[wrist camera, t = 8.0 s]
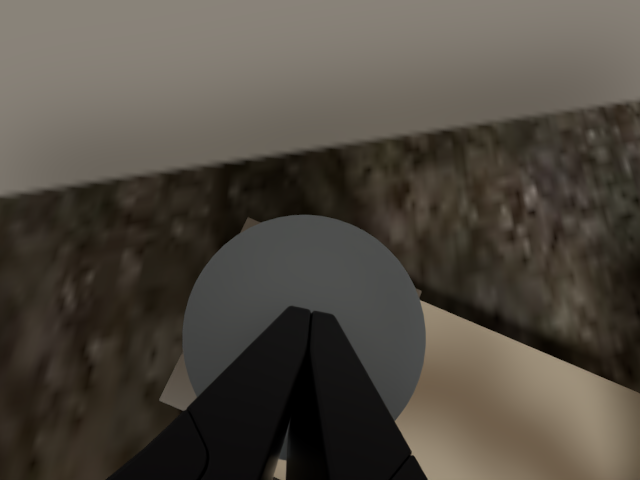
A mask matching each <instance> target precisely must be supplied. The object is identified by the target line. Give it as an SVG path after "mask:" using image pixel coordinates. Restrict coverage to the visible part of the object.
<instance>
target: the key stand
mask: <svg viewBox="0 0 640 480" xmlns="http://www.w3.org/2000/svg"><path fill="white" fill-rule="evenodd" d="M259 223H260V222H258V221H256V220H253V219H251V218H249V217H248V218H247V220H246V222H245V224H244V226H243V228H242V230H241V233H242V232H243V231H245V230H247V229H248V228H250V227H253V226H255V225H257V224H259ZM415 289H416V288H415ZM416 291H417V294H418V297H419V298H420V295H421V292H422V291H421V290H419V289H416ZM420 302H421V306H422V310H423V314H424V321H425V329H426V348H425V356H424V363H423V367H422V371H421V375H420V378H419V381H418V383H417V386H416V388H415V391H414V393H413V395H412V397H411V398H410V400H409V402H408V404H407V405H406V407H405V409H404V410H403V411H402V412H401V414H400V415H399V416H398V418H397V419H396V420H395V423H396V424H397V426H398V428H399V430H400V431H401V433H402V435H403V437H404V438H405V440H406V442H407V444H408V446H409V447H410V449H411V451H412V455H414V456H415V458H416V459H417V461H418V463H419V465H420V466H421V468H422V470H423V472H424V473H425V475H426V477H427V478H428V480H640V393H638V392H635V391H633V390H631V389H628V388H626V387H624V386H621V385H619V384H617V383H614V382H612V381H609V380H607V379H605V378H602V377H600V376H598V375H595V374H593V373H591V372H588V371H586V370H584V369H581V368H579V367H576V366H574V365H572V364H569V363H567V362H565V361H562V360H560V359H558V358H555V357H553V356H551V355H548V354H546V353H543V352H541V351H539V350H536V349H534V348H532V347H529V346H527V345H525V344H522V343H520V342H518V341H515V340H513V339H510V338H508V337H506V336H503V335H501V334H499V333H496V332H494V331H492V330H489V329H487V328H484V327H482V326H480V325H477V324H475V323H473V322H470V321H468V320H466V319H463V318H461V317H459V316H456V315H454V314H451V313H449V312H447V311H444V310H442V309H440V308H437V307H435V306H433V305H430V304H428V303H426V302H423V301H421V300H420ZM196 398H197V396H196V394H195V392H194V390H193V387H192V385H191V382H190V380H189V377H188V373H187V369H186V366H185V361H184V353H183V352H182V354H181V356H180V358H179V360H178V362H177V364H176V366H175V368H174V371H173V373H172V375H171V377H170V379H169V381H168V383H167V385H166V387H165V389H164V391H163V393H162V395H161V397H160V399H159V401H161V402H164V403H166V404H168V405H171V406H173V407H175V408H178V409H180V410H182V411H184V410H186V409H187V407H188V406H189V405H190V404H191V403H192V402H193V401H194V400H195V399H196ZM273 477H276V478H278V479H280V480H286V461H285V460H280V459H279V460H278V463H277V466H276V469H275V473H274V476H273Z"/></svg>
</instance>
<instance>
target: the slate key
mask: <svg viewBox="0 0 640 480" xmlns="http://www.w3.org/2000/svg"><path fill="white" fill-rule="evenodd" d="M288 306H297V307H301V308H306V309H309V310H310V311H311V313H312V312H313V311H321V312H325V313H330V314H333V315H334V316H335V317H336V319H337V320H338V322H339V324H340V326H341V327H342V329H343V331H344V333H345V334H346V336H347V338H348V340H349V341H350V343H351V345H352V347H353V349H354V350H355V352H356V354H357V356H358V357H359V359H360V361H361V363H362V364H363V366H364V368H365V370H366V371H367V373H368V375H369V377H370V379H371V380H372V382H373V384H374V386H375V387H376V389H377V391H378V393H379V394H380V396H381V398H382V400H383V401H384V403H385V405H386V407H387V409H388V410H389V412H390V414H391V416H392V417H393V419H394V421H395V420H396V419H397V418H398V416H399V415H400V414H401V412H402V411H403V410H404V409H405V407H406V405H407V404H408V402H409V400H410V398H411V397H412V395H413V393H414V391H415V388H416V386H417V383H418V381H419V378H420V375H421V371H422V367H423V363H424V356H425V348H426V329H425V321H424V314H423V310H422V306H421V302H420V299H419V297H418V294H417V291H416V289H415V286H414V284H413V282H412V281H411V279H410V277H409V275H408V273H407V272H406V270H405V269H404V267H403V266H402V265H401V263H400V262H399V260H398V259H397V258H396V257H395V256H394V255H393V254H392V253H391V252H390V250H389V249H388V248H386V247H385V246H384V245H383V244H382V243H381V242H379V241H378V240H377V239H376V238H374V237H373V236H371V235H370V234H368V233H367V232H365V231H364V230H361V229H359V228H357V227H355V226H353V225H351V224H349V223H346V222H343V221H340V220H337V219H333V218H329V217H324V216H316V215H291V216H285V217H278V218H275V219H271V220H268V221H264V222H262V223H259V224H257V225H255V226H253V227H250V228H248V229H247V230H245V231H243V232H242V233H240V234H238V235H236V236H235V237H234V238H233V239H231V240H230V241H229V242H227V243H226V244H225V245H224V246H223V247H222V248H221V249H220V250H219V251H218V252H217V253H216V254H215V255H214V256H213V257H212V258H211V260H210V261H209V262H208V263H207V265H206V266H205V267H204V269H203V270H202V272H201V274H200V276H199V277H198V279H197V281H196V282H195V285H194V287H193V290H192V292H191V294H190V297H189V300H188V304H187V307H186V311H185V316H184V323H183V353H184V361H185V366H186V369H187V373H188V377H189V380H190V382H191V385H192V387H193V390H194V392H195V394H196V396H197V397H198V396H199V395H200V394H201V393H202V392H203V391H204V390H205V389H206V388H207V387H208V386H209V385H210V384H211V383H212V382H213V381H214V380H215V379H216V378H217V377H218V376H219V375H220V374H221V373H222V372H223V371H224V370H225V369H226V368H227V367H228V366H229V365H230V364H231V363H232V362H233V361H234V360H235V359H236V358H237V357H238V356H239V355H240V354H241V353H242V352H243V351H244V350H245V349H246V348H247V347H248V346H249V345H250V344H251V343H252V342H253V341H254V340H255V339H256V338H257V337H258V336H259V335H260V334H261V333H262V332H263V331H264V330H265V329H266V328H267V327H268V326H269V325H270V324H271V323H272V322H273V321H274V320H275V319H276V318H277V317H278V316H279V315H280V314H281V313H282V312H283V311H284V310H285V309H286V308H287V307H288ZM289 422H290V421H289ZM288 429H289V425H288ZM288 429H287V433H286V436H285V440H284V444H283V447H282V450H281V453H280V457H279V459H280V460H285V461H286V460H287V440H288Z"/></svg>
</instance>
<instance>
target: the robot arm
mask: <svg viewBox="0 0 640 480" xmlns="http://www.w3.org/2000/svg"><path fill="white" fill-rule="evenodd" d="M289 421H290V422H289ZM288 425H289V429H288ZM287 429H288V440H287V460H286V480H428V478H427V477H426V475H425V473H424V472H423V470H422V468H421V466H420V465H419V463H418V461H417V459H416V458H415V456H414V455H412V451H411V449H410V447H409V446H408V444H407V442H406V440H405V438H404V437H403V435H402V433H401V431H400V430H399V428H398V426H397V424H396V423H395V421H394V419H393V417H392V416H391V414H390V412H389V410H388V409H387V407H386V405H385V403H384V401H383V400H382V398H381V396H380V394H379V393H378V391H377V389H376V387H375V386H374V384H373V382H372V380H371V379H370V377H369V375H368V373H367V371H366V370H365V368H364V366H363V364H362V363H361V361H360V359H359V357H358V356H357V354H356V352H355V350H354V349H353V347H352V345H351V343H350V341H349V340H348V338H347V336H346V334H345V333H344V331H343V329H342V327H341V326H340V324H339V322H338V320H337V319H336V317H335V316H334V315H333V314H330V313H325V312H321V311H313V312H312V313H311V311H310V310H309V309H306V308H301V307H297V306H288V307H287V308H286V309H285V310H284V311H283V312H282V313H281V314H280V315H279V316H278V317H277V318H276V319H275V320H274V321H273V322H272V323H271V324H270V325H269V326H268V327H267V328H266V329H265V330H264V331H263V332H262V333H261V334H260V335H259V336H258V337H257V338H256V339H255V340H254V341H253V342H252V343H251V344H250V345H249V346H248V347H247V348H246V349H245V350H244V351H243V352H242V353H241V354H240V355H239V356H238V357H237V358H236V359H235V360H234V361H233V362H232V363H231V364H230V365H229V366H228V367H227V368H226V369H225V370H224V371H223V372H222V373H221V374H220V375H219V376H218V377H217V378H216V379H215V380H214V381H213V382H212V383H211V384H210V385H209V386H208V387H207V388H206V389H205V390H204V391H203V392H202V393H201V394H200V395H199V396H198V397H197V398H196V399H195V400H194V401H193V402H192V403H191V404H190V405H189V406H188V407H187V409H186V410H184V411H183V412H182V413H181V414H180V415H179V416H178V417H177V418H176V419H175V420H174V421H173V422H172V423H171V424H170V425H169V426H167V427H166V428H165V429H164V430H163V431H162V432H161V433H160V434H159V435H158V436H157V437H156V438H155V439H153V440H152V441H151V442H150V443H149V444H148V445H147V446H146V447H145V448H144V449H143V450H141V451H140V452H139V453H138V454H136V455H135V456H134V457H133V458H132V459H130V460H129V461H128V462H127V463H125V464H124V465H123V466H122V467H121V468H119V469H118V470H117V471H116V472H115V473H113V474H112V475H111V476H109V477H108V478H107V479H106V480H272V479H273V476H274V473H275V469H276V466H277V463H278V460H279V457H280V453H281V450H282V447H283V444H284V440H285V436H286V433H287Z"/></svg>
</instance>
